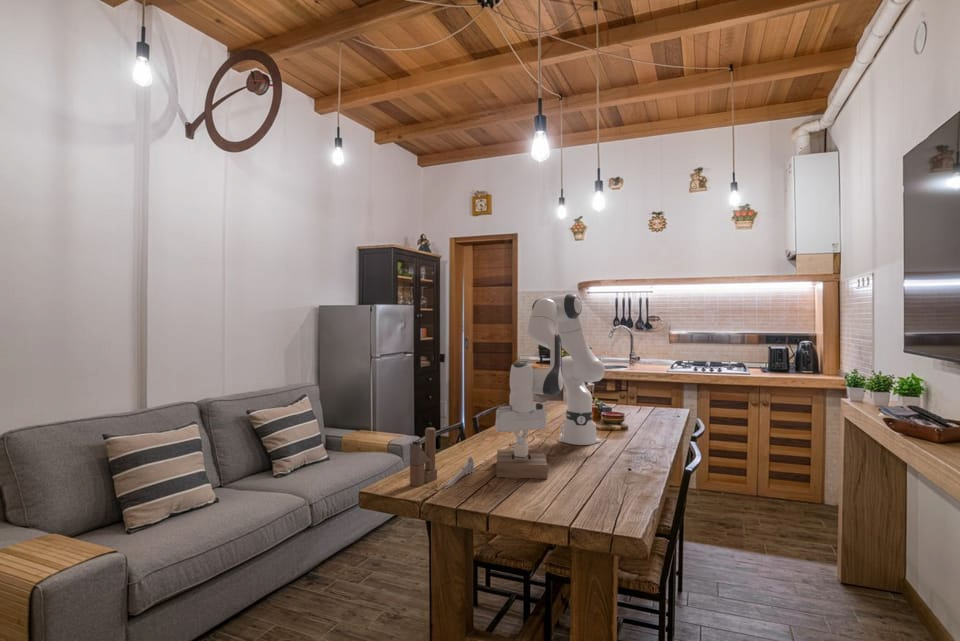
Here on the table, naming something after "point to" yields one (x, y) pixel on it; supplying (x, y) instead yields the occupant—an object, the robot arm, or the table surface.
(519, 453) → the square peg
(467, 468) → the caliper
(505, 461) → the socket block
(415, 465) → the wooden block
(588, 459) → the table surface
